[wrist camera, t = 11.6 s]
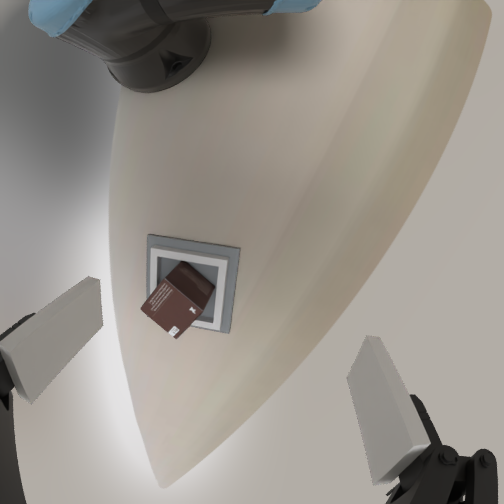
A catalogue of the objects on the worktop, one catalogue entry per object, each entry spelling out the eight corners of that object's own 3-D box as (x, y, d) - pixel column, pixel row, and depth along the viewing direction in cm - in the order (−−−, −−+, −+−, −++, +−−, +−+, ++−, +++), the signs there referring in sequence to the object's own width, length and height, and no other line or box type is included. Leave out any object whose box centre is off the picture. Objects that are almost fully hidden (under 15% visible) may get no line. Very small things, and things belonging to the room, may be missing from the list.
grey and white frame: (149, 234, 38) (142, 237, 36) (240, 248, 37) (238, 252, 35) (148, 314, 41) (143, 321, 39) (229, 331, 41) (227, 339, 39)
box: (183, 257, 38) (164, 276, 31) (217, 286, 38) (204, 311, 31) (159, 286, 39) (138, 309, 32) (191, 313, 40) (175, 340, 33)
